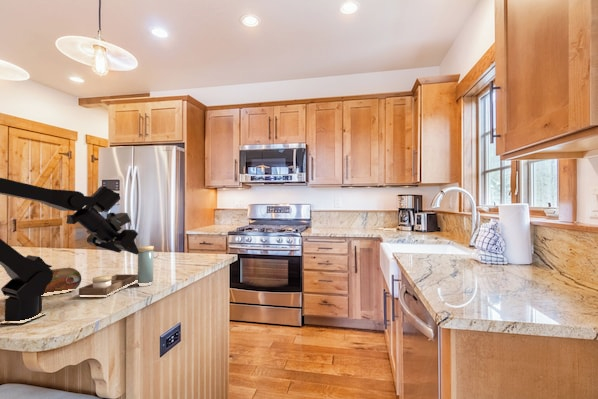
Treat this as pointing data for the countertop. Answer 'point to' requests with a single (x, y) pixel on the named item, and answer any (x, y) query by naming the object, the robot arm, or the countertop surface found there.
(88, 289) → the caddy
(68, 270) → the tin
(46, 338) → the countertop surface
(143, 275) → the tall jar
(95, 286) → the cream lidded jar
